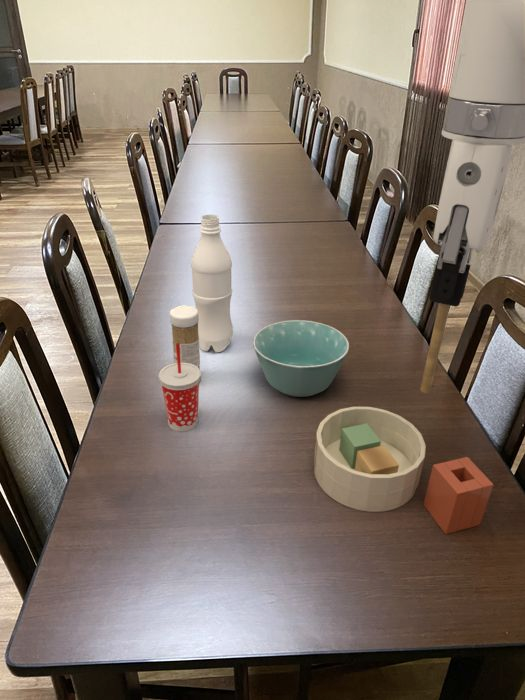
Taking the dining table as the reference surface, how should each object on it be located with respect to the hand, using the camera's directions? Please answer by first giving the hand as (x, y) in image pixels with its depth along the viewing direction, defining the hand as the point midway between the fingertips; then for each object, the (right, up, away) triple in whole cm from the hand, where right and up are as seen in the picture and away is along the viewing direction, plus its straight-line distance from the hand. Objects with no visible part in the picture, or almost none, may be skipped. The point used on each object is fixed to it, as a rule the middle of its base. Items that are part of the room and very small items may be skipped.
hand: (445, 298), depth 59 cm
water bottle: (-30, -5, +43) cm, 53 cm away
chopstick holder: (+4, -27, +9) cm, 28 cm away
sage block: (-7, -21, +16) cm, 27 cm away
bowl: (-14, -11, +33) cm, 38 cm away
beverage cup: (-33, -17, +24) cm, 44 cm away
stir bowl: (-6, -23, +15) cm, 28 cm away
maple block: (-5, -23, +13) cm, 27 cm away
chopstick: (0, -11, +7) cm, 13 cm away
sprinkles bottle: (-33, -11, +33) cm, 48 cm away
